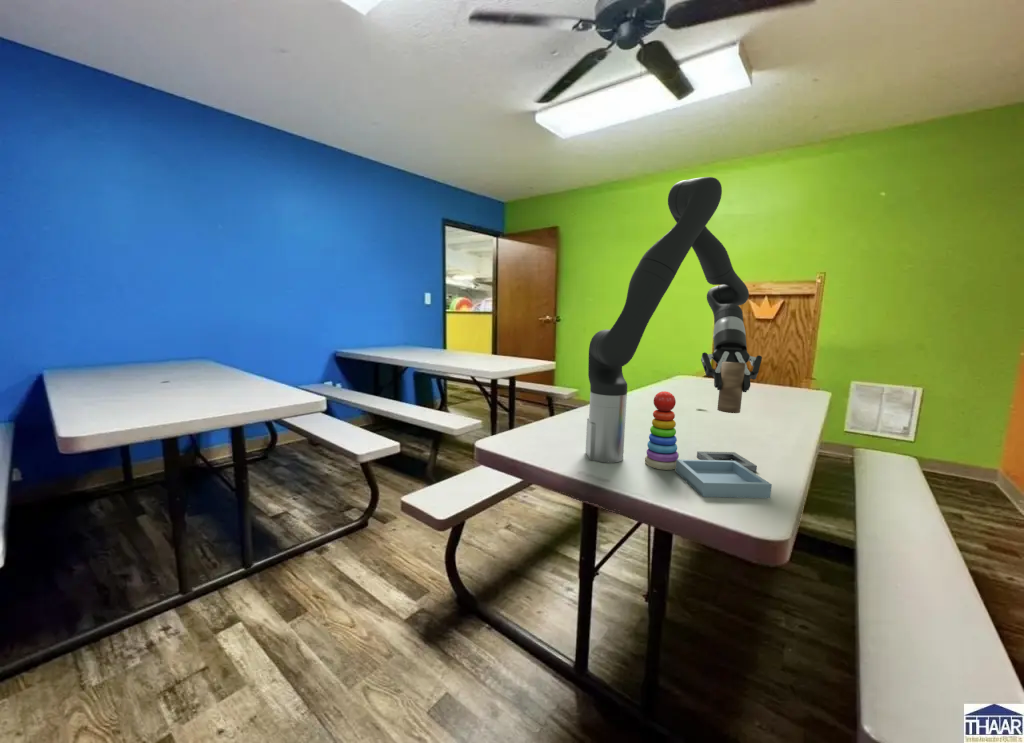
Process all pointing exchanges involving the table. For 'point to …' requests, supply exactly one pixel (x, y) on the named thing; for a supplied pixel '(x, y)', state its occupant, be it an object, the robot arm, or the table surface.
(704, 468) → the tray
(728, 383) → the walnut peg
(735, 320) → the robot arm
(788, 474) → the table surface
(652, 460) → the stacking toy
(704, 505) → the table surface
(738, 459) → the socket plate
